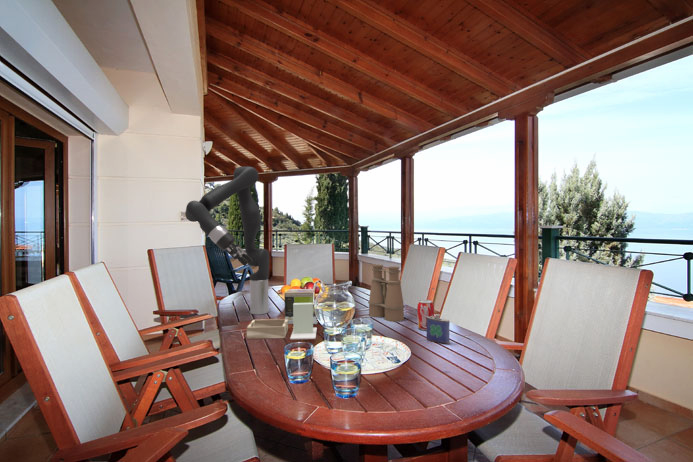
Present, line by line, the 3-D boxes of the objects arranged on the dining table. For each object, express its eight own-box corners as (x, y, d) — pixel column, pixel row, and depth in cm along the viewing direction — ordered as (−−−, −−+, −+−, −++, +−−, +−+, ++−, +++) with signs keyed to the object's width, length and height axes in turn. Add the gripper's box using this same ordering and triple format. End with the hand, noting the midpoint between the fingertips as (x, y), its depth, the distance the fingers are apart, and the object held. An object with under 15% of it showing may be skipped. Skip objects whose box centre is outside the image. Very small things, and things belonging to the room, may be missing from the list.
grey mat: (293, 329, 155) (293, 327, 155) (316, 328, 156) (316, 327, 156) (290, 339, 141) (290, 338, 141) (315, 338, 142) (315, 337, 142)
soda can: (416, 330, 152) (415, 302, 151) (419, 325, 158) (418, 298, 158) (432, 332, 149) (432, 303, 149) (435, 327, 156) (435, 300, 155)
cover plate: (294, 331, 150) (293, 303, 150) (313, 330, 151) (312, 302, 150) (293, 333, 147) (293, 304, 147) (312, 333, 148) (312, 304, 147)
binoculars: (364, 314, 179) (363, 265, 178) (378, 311, 185) (377, 263, 185) (395, 323, 163) (394, 268, 162) (409, 319, 169) (408, 266, 169)
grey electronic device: (320, 319, 172) (320, 288, 171) (316, 324, 162) (316, 292, 161) (290, 318, 173) (289, 288, 173) (284, 324, 163) (283, 292, 163)
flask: (450, 343, 135) (450, 315, 135) (447, 345, 133) (447, 316, 132) (428, 338, 141) (428, 311, 140) (424, 340, 138) (424, 313, 138)
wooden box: (253, 330, 154) (253, 319, 154) (288, 329, 155) (288, 318, 155) (246, 338, 142) (246, 327, 142) (284, 337, 143) (284, 326, 143)
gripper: (223, 231, 149) (251, 258, 150) (232, 231, 163) (258, 255, 164) (210, 244, 149) (238, 271, 150) (221, 242, 163) (246, 267, 164)
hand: (248, 263), depth 157 cm, fingers open, 8 cm apart
